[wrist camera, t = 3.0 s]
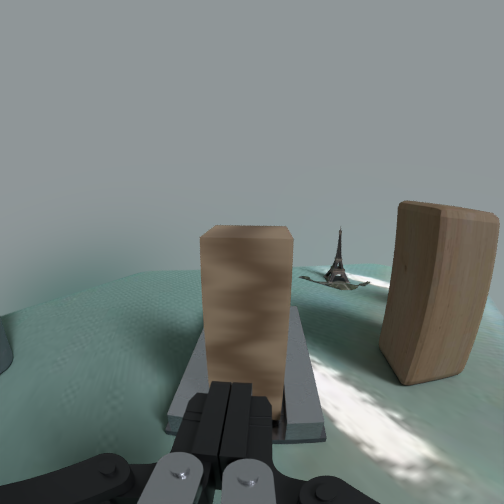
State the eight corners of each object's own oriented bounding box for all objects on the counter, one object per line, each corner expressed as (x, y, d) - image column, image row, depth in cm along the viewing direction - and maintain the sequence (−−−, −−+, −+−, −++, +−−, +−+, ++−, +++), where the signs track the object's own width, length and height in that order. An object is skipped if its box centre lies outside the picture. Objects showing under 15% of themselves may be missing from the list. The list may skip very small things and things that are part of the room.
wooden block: (374, 346, 35) (395, 199, 30) (431, 340, 34) (454, 206, 30) (401, 390, 25) (440, 205, 20) (463, 375, 24) (503, 215, 20)
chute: (166, 434, 20) (160, 413, 19) (210, 320, 43) (210, 303, 43) (325, 441, 19) (331, 421, 19) (299, 322, 43) (300, 306, 42)
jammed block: (212, 416, 21) (199, 237, 18) (221, 378, 27) (215, 225, 24) (280, 420, 21) (293, 238, 18) (278, 380, 27) (286, 226, 24)
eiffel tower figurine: (297, 279, 66) (299, 223, 63) (320, 271, 73) (323, 220, 70) (352, 295, 55) (358, 231, 52) (371, 284, 62) (377, 228, 59)
